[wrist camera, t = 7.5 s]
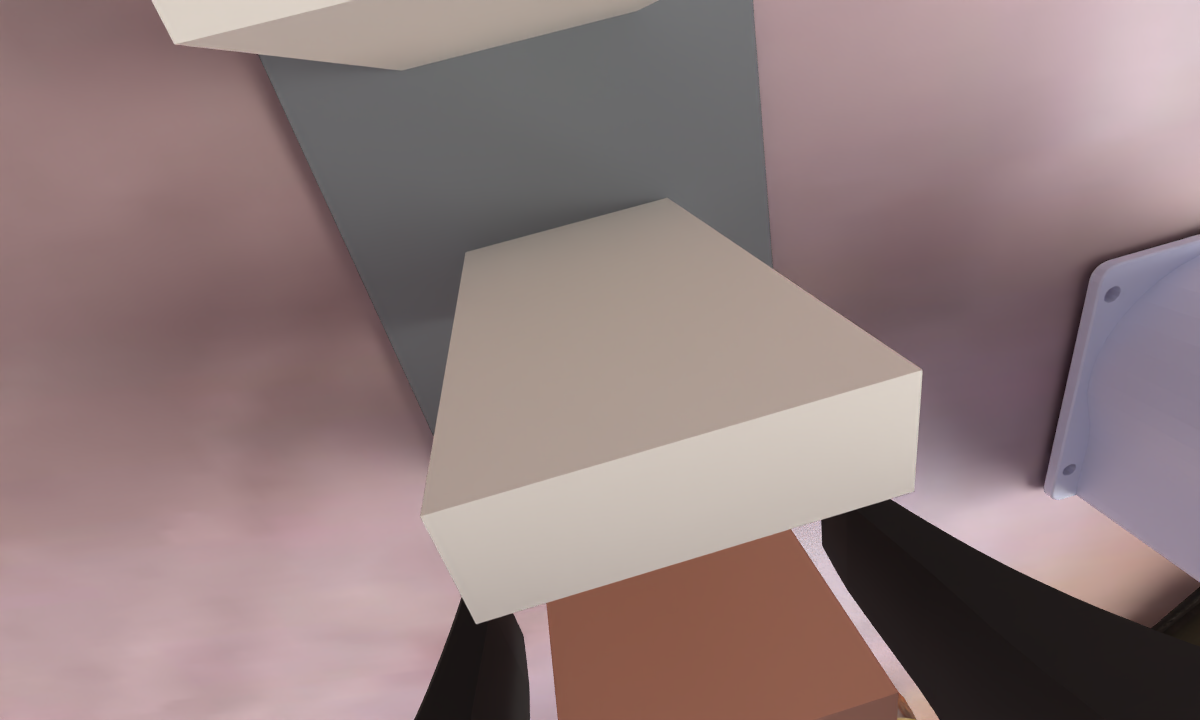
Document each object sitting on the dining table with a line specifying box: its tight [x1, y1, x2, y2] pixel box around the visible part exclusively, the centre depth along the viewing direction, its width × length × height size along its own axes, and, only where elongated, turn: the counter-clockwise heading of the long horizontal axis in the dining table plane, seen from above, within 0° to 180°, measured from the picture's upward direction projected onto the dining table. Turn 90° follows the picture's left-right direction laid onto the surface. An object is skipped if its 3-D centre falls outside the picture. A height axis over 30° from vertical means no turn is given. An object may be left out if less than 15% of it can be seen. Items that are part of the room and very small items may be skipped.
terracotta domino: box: [546, 529, 899, 720], centre depth 12 cm, size 2×5×9 cm, turn 104°
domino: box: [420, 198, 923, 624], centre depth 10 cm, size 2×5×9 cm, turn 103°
